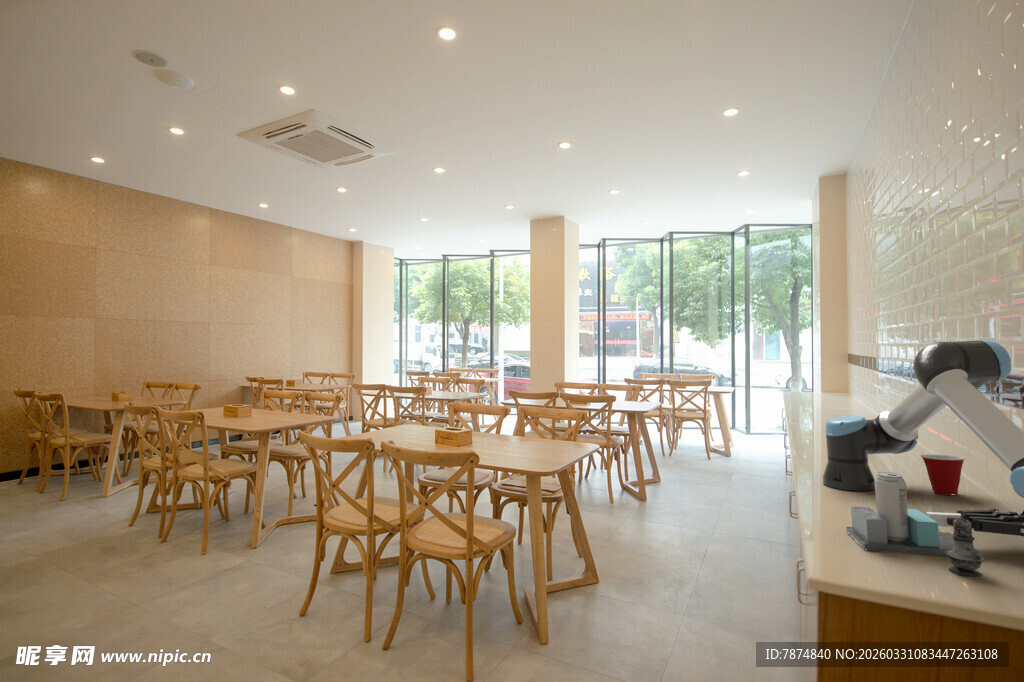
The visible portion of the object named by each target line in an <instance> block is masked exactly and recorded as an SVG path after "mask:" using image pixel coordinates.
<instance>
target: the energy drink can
mask: <svg viewBox="0 0 1024 682" xmlns="http://www.w3.org/2000/svg"><path fill="white" fill-rule="evenodd" d="M876 473H877V474H876V475H877V476H876V477H875V478H874V479H875V489H874V492H875V509H876V510H875V512H876V513H878V514H879V515H880V516H882V517H883V518H884V519H886V524H887V539H890V540H896V541H904V540H906V537H908V536H909V527H908V510H907V509H908V497H907V496H908V495H907V483H906V481H905V479H904V478H903V475H902V474H900V473H896V472H889V471H880V472H876Z"/></svg>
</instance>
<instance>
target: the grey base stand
mask: <svg viewBox="0 0 1024 682" xmlns="http://www.w3.org/2000/svg"><path fill="white" fill-rule="evenodd" d="M850 514H851V526H846V527H845V528H846V533H847V532H849V533H850V534H851V535H852V536H853V537H854V538H855V539H856V540H857V541H858V542H859V543H860V544H861V545H862V547H863V548H864V549H867V550H866V551H868V550H875V551H874V552H883V551H886V552H887V551H888V552H887V553H897V552H900V553H899V554H901V553H902V554H912V553H913V554H915V555H928V556H929V555H930V556H939V557H941V556H942V557H944V556H945V557H948V555H947V554H946V551H948V550H952V549H953V548H954V537H952V534H953V533H952V532H947V531H945V532H941V531H938V532H939V547H931V546H918V545H917V544H916V543H914V542H913V541H912V540H910V539H909V538H908V537H906V540H904V541H896V540H890V539H887V524H886V519H884V518H883V517H882V516H880V515H879V514H878V513H877V512H876V510H873V509H872V507H869V506H854V505H853V506H850ZM862 547H861V548H862ZM863 548H862V549H863ZM973 548H974V551H975V553H976V554H978V555H980V556H981V551H980V550H978V549H977V548H975V547H974V546H973ZM864 549H863V550H864ZM886 552H885V553H886Z"/></svg>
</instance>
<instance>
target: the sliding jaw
mask: <svg viewBox="0 0 1024 682" xmlns="http://www.w3.org/2000/svg"><path fill="white" fill-rule="evenodd" d="M907 510H908V527H909V536H908V538H909V539H910V540H912V541H913V542H914V543H916V544H917V545H918V546H931V547H939V532H940V531H939V526H938V522H936V521H935V520H933V519H931V518H930V517H928V516H927V514H925V513H923V512H921V511H920V510H918V509H917V508H915V509H914V508H912V509H911V508H907Z"/></svg>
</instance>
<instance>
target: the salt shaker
mask: <svg viewBox="0 0 1024 682" xmlns="http://www.w3.org/2000/svg"><path fill="white" fill-rule="evenodd" d="M963 517H964V516H963V515H962V514H961V515H960V518H958V519H955V520H954V521H953V533H951V534H952V537H954V548H953V549H952V550H948V551H946V554H947V555H948V556H947V558H948V560H949V562H950V563H951V564H952V565H954V566H950V567H949V568H948V571H949V572H950V573H952V574H954V575H956V576H960V577H963V578H968V579H983V577H984V575H983V573H981V572H980V571H978V569H979V568H980V567H981V566H982V564H983V561H984V560H985V559H984V557H983V556H982V555H981V554H980V555H978V554H976V553H975V551H974V548H975V547H974V541H975V539H976V538H975V537H974V536H973V529H972V525H971V523H970V522H969V521H968V520H966V519H964V518H963ZM973 547H974V548H973Z"/></svg>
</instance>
